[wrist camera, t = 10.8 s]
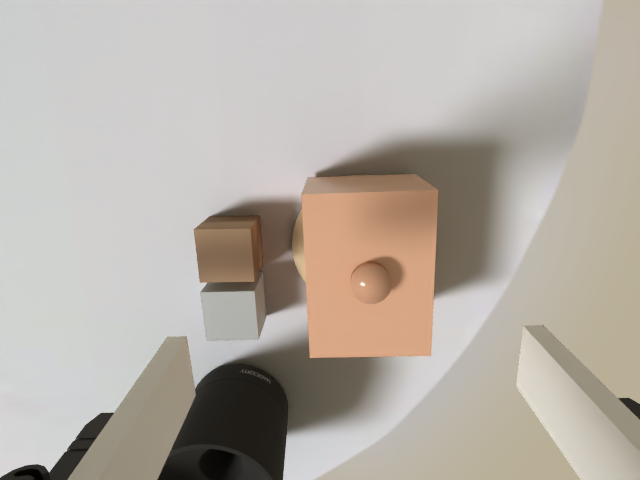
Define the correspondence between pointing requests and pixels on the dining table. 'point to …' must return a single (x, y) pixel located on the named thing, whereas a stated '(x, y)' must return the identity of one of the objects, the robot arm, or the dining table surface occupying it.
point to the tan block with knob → (369, 264)
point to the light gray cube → (234, 309)
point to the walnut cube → (229, 248)
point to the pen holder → (232, 429)
